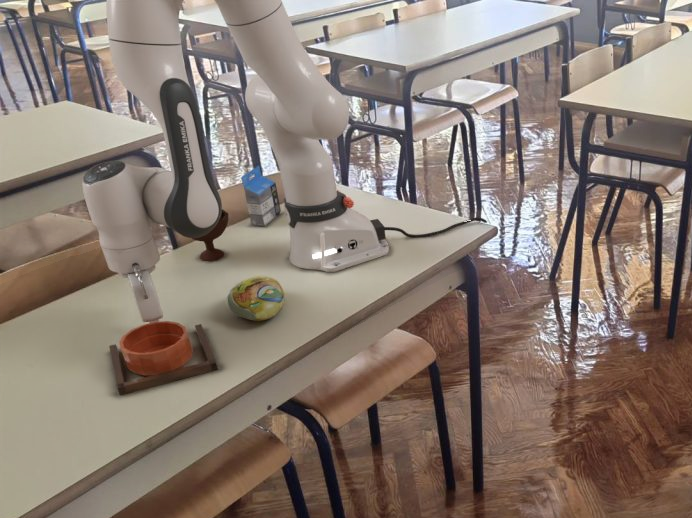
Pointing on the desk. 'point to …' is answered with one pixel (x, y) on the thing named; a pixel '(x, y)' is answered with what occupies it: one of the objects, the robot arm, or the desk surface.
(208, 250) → the ice cream bowl
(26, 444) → the desk surface
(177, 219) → the robot arm
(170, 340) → the bowl
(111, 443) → the desk surface
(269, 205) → the blue and grey box
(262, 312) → the cell model
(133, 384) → the frame
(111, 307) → the desk surface
